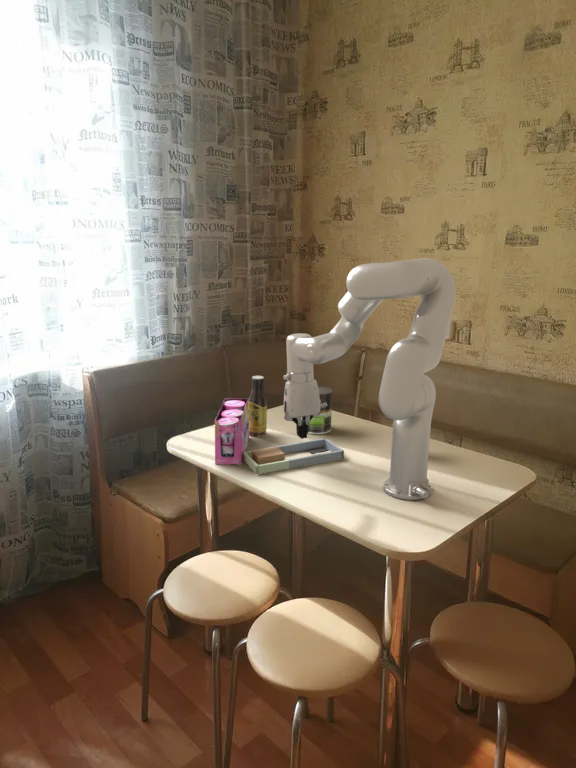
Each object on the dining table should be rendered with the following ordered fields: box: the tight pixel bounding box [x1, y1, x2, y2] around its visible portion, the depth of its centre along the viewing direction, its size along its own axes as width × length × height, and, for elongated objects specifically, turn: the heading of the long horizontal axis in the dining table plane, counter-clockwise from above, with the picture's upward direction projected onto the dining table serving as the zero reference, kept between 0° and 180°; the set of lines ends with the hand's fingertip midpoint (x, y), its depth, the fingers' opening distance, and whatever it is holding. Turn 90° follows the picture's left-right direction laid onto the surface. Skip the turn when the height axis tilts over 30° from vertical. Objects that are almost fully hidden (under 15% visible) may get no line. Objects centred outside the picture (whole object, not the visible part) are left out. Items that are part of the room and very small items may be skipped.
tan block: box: [250, 446, 286, 465], centre depth 170 cm, size 6×8×4 cm
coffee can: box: [307, 385, 333, 435], centre depth 197 cm, size 10×10×14 cm
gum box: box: [214, 397, 250, 465], centre depth 178 cm, size 24×8×14 cm, turn 178°
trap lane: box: [242, 437, 345, 475], centre depth 173 cm, size 12×28×2 cm, turn 114°
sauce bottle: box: [248, 375, 268, 438], centre depth 191 cm, size 7×6×20 cm
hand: (302, 436), depth 172 cm, fingers closed
